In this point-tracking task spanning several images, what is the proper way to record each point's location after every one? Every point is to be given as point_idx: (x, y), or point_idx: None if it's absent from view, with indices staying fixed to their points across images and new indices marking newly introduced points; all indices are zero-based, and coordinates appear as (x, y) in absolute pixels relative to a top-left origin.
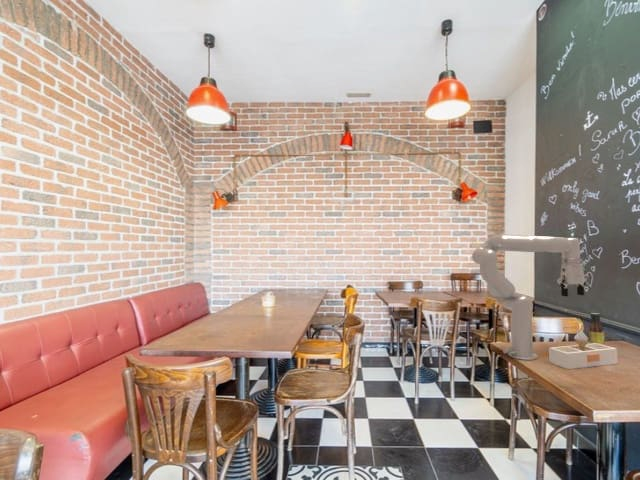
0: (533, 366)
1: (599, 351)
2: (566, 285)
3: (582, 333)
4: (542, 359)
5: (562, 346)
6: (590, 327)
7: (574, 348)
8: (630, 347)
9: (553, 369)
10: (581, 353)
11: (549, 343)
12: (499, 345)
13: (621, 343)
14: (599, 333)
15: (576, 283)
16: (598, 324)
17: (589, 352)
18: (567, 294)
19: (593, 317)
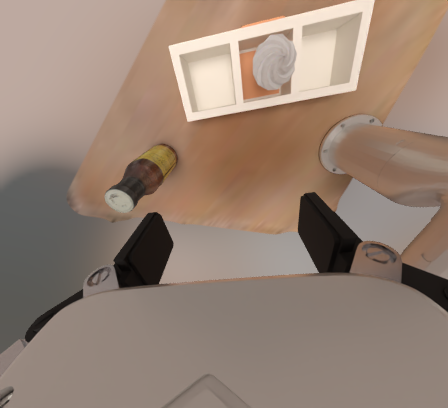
0: (402, 62)
1: (236, 30)
2: (380, 276)
3: (282, 47)
4: (325, 118)
5: (305, 97)
6: (158, 180)
7: None
8: (84, 175)
9: (381, 24)
10: (311, 12)
11: (220, 218)
12: None
13: (88, 200)
14: (149, 158)
15: (234, 287)
16: (136, 171)
17: (277, 20)
18: (317, 198)
19: (135, 190)
